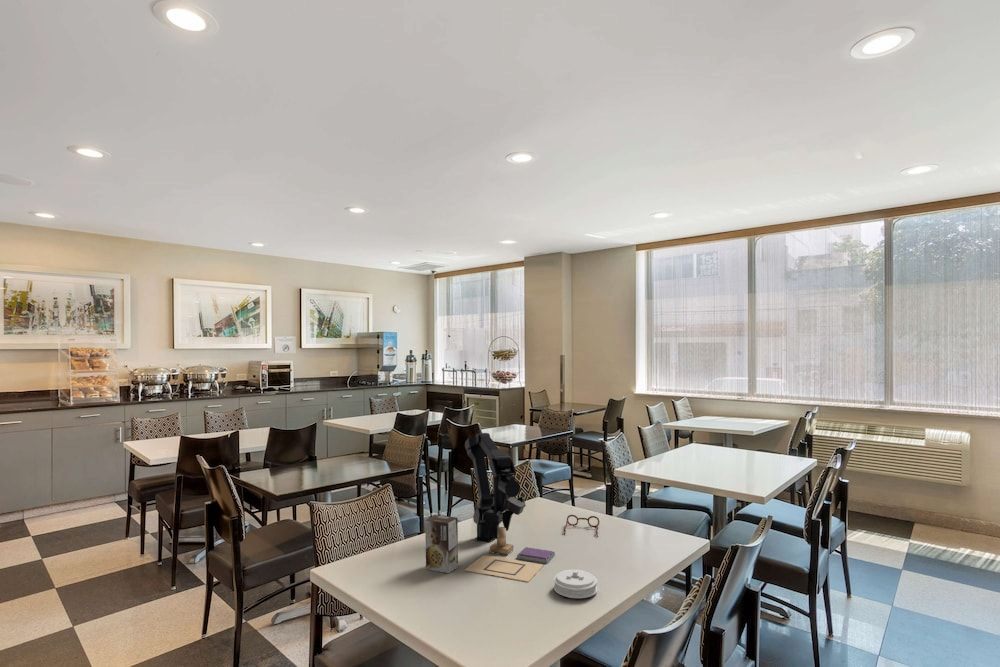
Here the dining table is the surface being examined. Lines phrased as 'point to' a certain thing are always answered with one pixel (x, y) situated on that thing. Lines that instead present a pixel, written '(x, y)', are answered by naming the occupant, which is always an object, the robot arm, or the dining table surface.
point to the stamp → (501, 543)
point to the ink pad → (536, 555)
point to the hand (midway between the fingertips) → (501, 534)
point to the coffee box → (441, 543)
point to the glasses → (582, 519)
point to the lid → (575, 584)
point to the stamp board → (505, 568)
